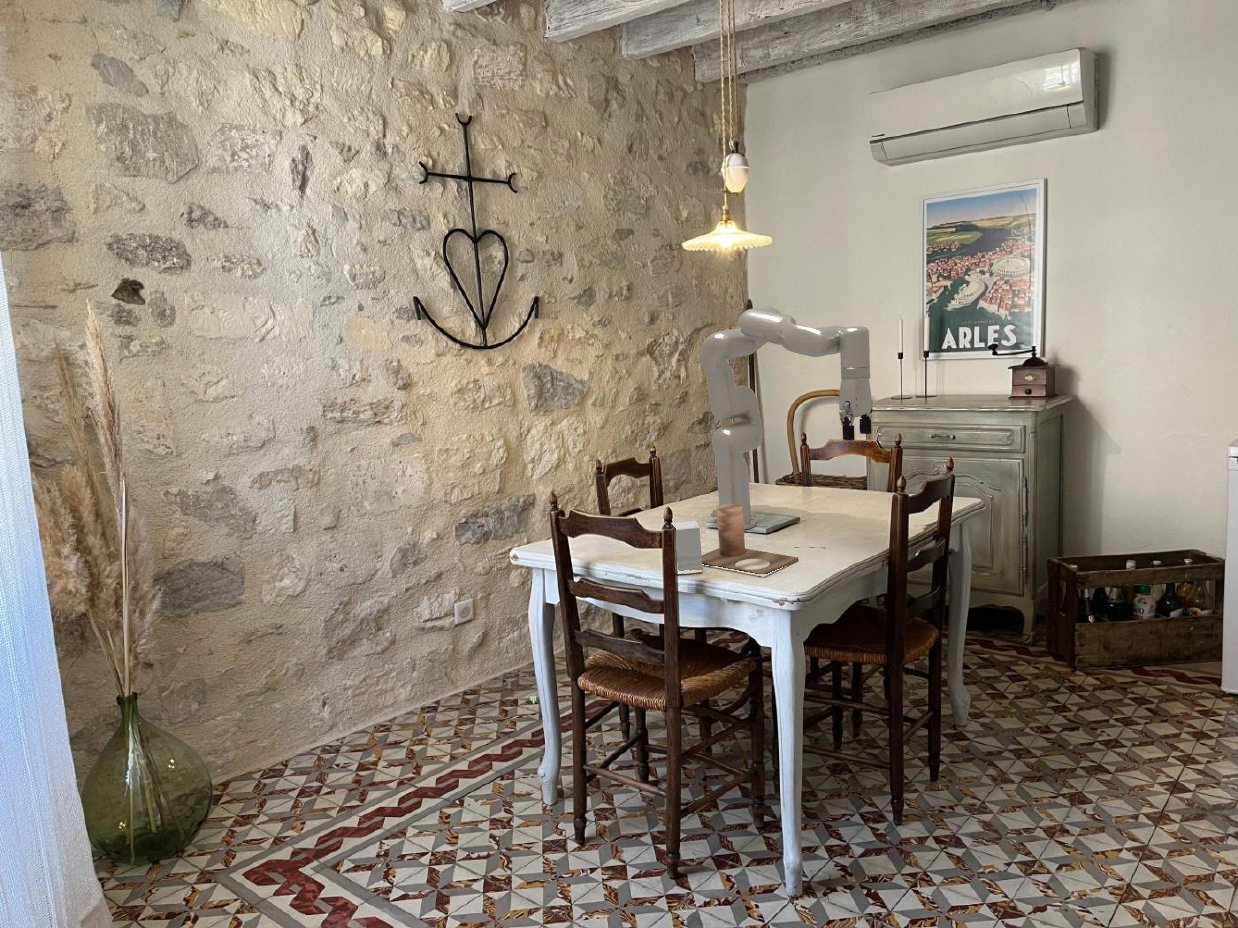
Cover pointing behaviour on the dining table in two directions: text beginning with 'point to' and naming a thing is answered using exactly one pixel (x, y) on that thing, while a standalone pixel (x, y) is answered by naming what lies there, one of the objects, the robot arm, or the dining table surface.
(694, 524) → the supplement box
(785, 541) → the dining table surface
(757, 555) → the board
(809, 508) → the dining table surface
